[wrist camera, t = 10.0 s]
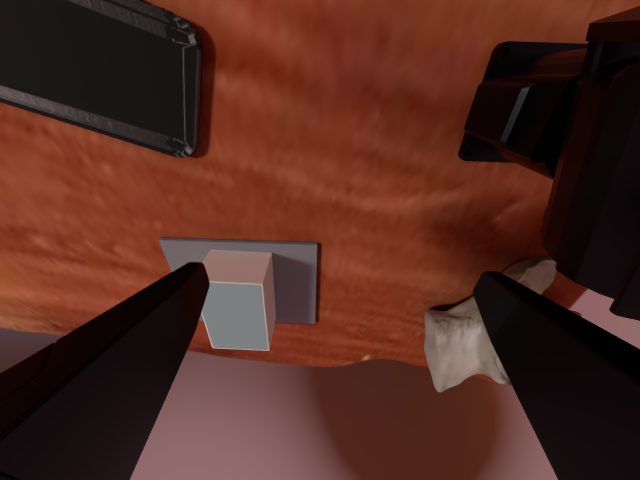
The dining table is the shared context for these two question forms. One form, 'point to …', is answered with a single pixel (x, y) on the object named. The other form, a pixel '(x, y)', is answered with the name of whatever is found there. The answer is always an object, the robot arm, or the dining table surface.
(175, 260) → the mat
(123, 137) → the phone
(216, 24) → the dining table surface
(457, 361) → the ceramic sculpture
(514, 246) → the dining table surface
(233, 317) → the card box
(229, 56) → the dining table surface
